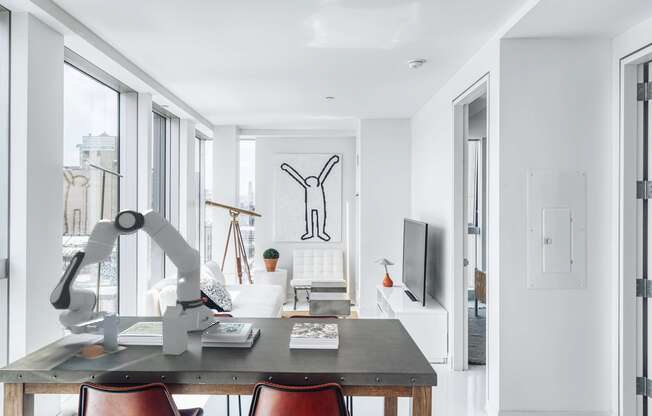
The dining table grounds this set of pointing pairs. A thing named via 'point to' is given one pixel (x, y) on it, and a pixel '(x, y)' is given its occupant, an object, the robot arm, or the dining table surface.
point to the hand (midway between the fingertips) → (107, 326)
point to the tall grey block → (110, 331)
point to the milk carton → (174, 330)
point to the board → (104, 352)
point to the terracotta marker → (92, 350)
